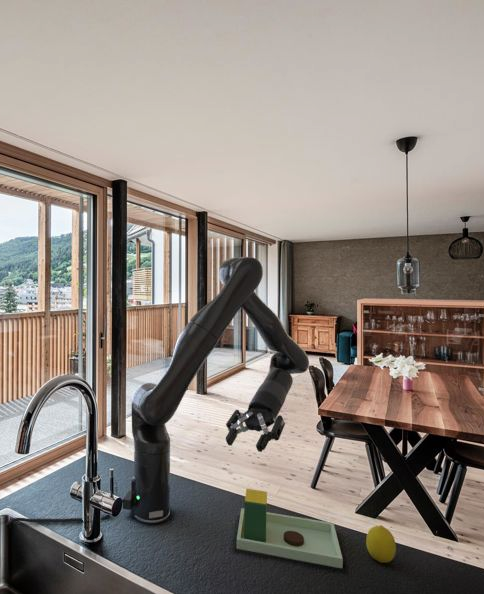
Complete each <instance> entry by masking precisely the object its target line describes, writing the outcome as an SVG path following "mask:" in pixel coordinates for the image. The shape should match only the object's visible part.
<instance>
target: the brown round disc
mask: <svg viewBox="0 0 484 594" xmlns="http://www.w3.org/2000/svg"><path fill="white" fill-rule="evenodd" d="M284 541H285V542H286V543H287V544H289V545H291V546H302V545H303V544H304V537H303V536H302V535H301V534H300V533H298V532H296V531H286V532H285V533H284Z"/></svg>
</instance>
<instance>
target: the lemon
mask: <svg viewBox="0 0 484 594" xmlns="http://www.w3.org/2000/svg"><path fill="white" fill-rule="evenodd" d="M365 544H366V549H367V552H368V553H369V556H371V557H372V558H373V559H374V560H375V561H376V562H379V563H381V564H385V563H387V564H388V563H390V562H391V561H393V559H394V558H395V556H396V552H397V546H396V545H397V544H396V540H395V537H394V535H393V534H392V532H391V531H390V530H389V529H388V528H386V527H385V526H383V525H375V526H371V528H369V529H368V531H367V535H366V538H365Z"/></svg>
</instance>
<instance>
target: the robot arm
mask: <svg viewBox="0 0 484 594" xmlns="http://www.w3.org/2000/svg"><path fill="white" fill-rule="evenodd" d="M263 275H264V268H263V265H262V263H261V261H260V260H259V259H257V258H256V257H252V256H238V257H237V256H236V257H231V258H226V259H225V260H224V261H222V263H221V264H220V266H219V268H218V277H219V281H220V282H221V284H222V286H223V288H222V289H221V291H219V293H218V294H217V295H216V296H215V297H214V298H213V299H212V300H210V301H209V302H208V303H207V304H206V305H204V306H203V307H202V308H201V309H199V310H198V311H197V312H196V313H195V314H194V315H193V316H192V317H190V320H189V321H188V322H187V324H186V325H185V327H184V328H183V329H182V331H181V333H180V334H179V336H178V338H177V340H176V343H175V347H174V350H173V354H172V358H171V361H170V364H169V366H168V368H167V369H166V371H165V373H164V374H163V376H162V377H161V378H160V380H159V381H158V383H153V382H145V383H142V384H141V385H139V386H137V388H136V389H135V390H134V392H133V394H132V398H131V434H132V438H133V452H134V453H133V477H132V478H131V480H130V482H131V483H130V485H131V486H130V490H128V491H127V492H126V494H124V497H123V498H122V499H121V500H122V510H127V511H130V517H131V518H135V520H136V521H139V522H140V523H143V524H148V525H149V524H150V525H156V524H160V523H163V522H166V521H167V520H168V519H169V517H170V516H171V510H170V508H171V506H170V501H171V500H170V499H171V498H170V496H171V495H170V493H171V492H170V491H171V438H170V437H171V436H170V435H169V432H168V430H167V426H166V424H167V423H168V422H169V421H171V419H172V418H173V417H174V415H175V414H176V412H177V410H178V408H179V406H180V404H181V402H182V401H183V399H184V397H185V394H186V392H187V390H188V388H189V387H190V385H191V384H192V382H193V380H194V379H195V377H196V376H197V374H198V373H199V371H200V370H201V368H202V367H203V365H204V363H205V361H206V360H207V359H208V357H209V356H210V354H211V353H212V352H213V351H214V349H215V347H216V346H217V344H218V342H219V341H220V339H221V338H222V336H223V334H224V333H225V331H226V330H227V329H228V327H229V326H230V324H231V323H232V321H233V319H234V318H235V316H236V315H237V313H238V312H239V310H240V309H242V310H243V311H244V313H245V314H246V315H247V317H248V319H250V321H251V322H252V324H253V326H254V328H255V329H256V331H257V332H258V334H259V336H260V338H261V339H262V341H263V343H264V345H265V346H266V347H267V349H268V350H270V351H272V352H275V353H273V354H272V355H271V357H270V361H269V366H268V367H269V368H268V373H267V375H266V376H265V378H264V380H263V382H262V383H261V384H260V385H259V386H258V389H257V390H256V392H255V393H254V395H253V397H252V398H251V400H250V402H249V404H248V408H247V410H246V411H244V412H240V410H239V409H235V410H234V411H233V413H232V414H231V416H230V417H229V419H228V420H227V421H226V423H225V426H226V428H227V429H228V433H227V434H226V436H225V441H226V444H227V446H229V447H230V446H231V447H232V445H233V444H234V442H235V441H236V439H237V437H238V435H240V434H241V433H247V432H248V431H256V432H259V433H260V432H263V434H261V435H260V436H259V438H258V440H257V441H256V444H255V448H256V450H257V452H259V453H262V452H263V451H265V450H266V448H267V446H268V444H269V442H271V441H272V440H274V441H276V442H277V441H279V440H280V437H281V435H282V433H283V431H284V428H285V425H286V422H285V420H284V418H283V416H282V415H279V413H280V412H281V410H282V407H283V406H284V404H285V401H286V398H287V396H288V394H289V392H290V390H291V388H292V386H293V382H294V381H293V380H294V379H293V376H292V375H296V374H297V375H299V374H304V373H306V372H307V371H308V370H309V366H310V359H309V356H308V354H307V353H306V351H305V350H304V349H303V347H302V346H300V344H298V342H296V340H294V338H292V337H291V336H290V335H289V334H288V331H287V330H286V327H285V326H284V323H283V322H282V320H281V319H280V317H278V315H277V314H276V313H275V312H274V311H273V309H271V308H270V307H269V306H268V305H267V304H266V303H265V302H264V301H263V300H262V298H261V297H260V296H259V294H257V293H256V290H257V288H258V287H259V285H260V284H261V282H262V279H263ZM244 423H245V426H244ZM272 425H273V426H272ZM271 426H272V429H271V431H270V430H269V427H271ZM108 514H109V513H107V514H106V515H104V516H102V517H100V518H101V520H100V521H103V520H106V519H108V518H110V517H111V516H110V515H108ZM82 518H83V517H81V518H80V517H72V518H27V517H14V518H12V519H10V520H8V521H7V522H6V523H5V527H7V526H10V525H11V524H12V523H14V522H24V523H71V522H78V523H79V522H82V523H84V522H83V520H82Z"/></svg>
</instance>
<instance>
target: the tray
mask: <svg viewBox="0 0 484 594" xmlns="http://www.w3.org/2000/svg"><path fill="white" fill-rule="evenodd" d="M244 510H245V507H244V508H243V507H241V508H240V515H239V522H238V528H237V533H236V534H237V535H236V549H237V550H243V551H249V552H252V553H253V552H254V553H259V554H263V555H269V556H275V557H278V558H279V557H280V558H285V559H291V560H294V561H299V562H305V563H312V564H316V565H321V566H326V567H327V566H328V567H331V568H332V567H333V568H337V569H343V568H344V567H343V565H344V564H343V563H344V558H343V554H342V551H341V547H340V543H339V539H338V535H337V531H336V528H335V527H336V526H335V523H334V522H330V521H325V520H317V519H313V518H312V519H311V518H305V517H299V516H293V515H287V514H280V513H275V512H268V511H267V516H266V543H265V542H260V541H254V540H249V539H244ZM286 531H296V532H298V533H300V534H301V535H302V536H303V537H304V544H303V545H302V546H291V545H289V544H287V543H286V542H285V541H284V533H285V532H286Z"/></svg>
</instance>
